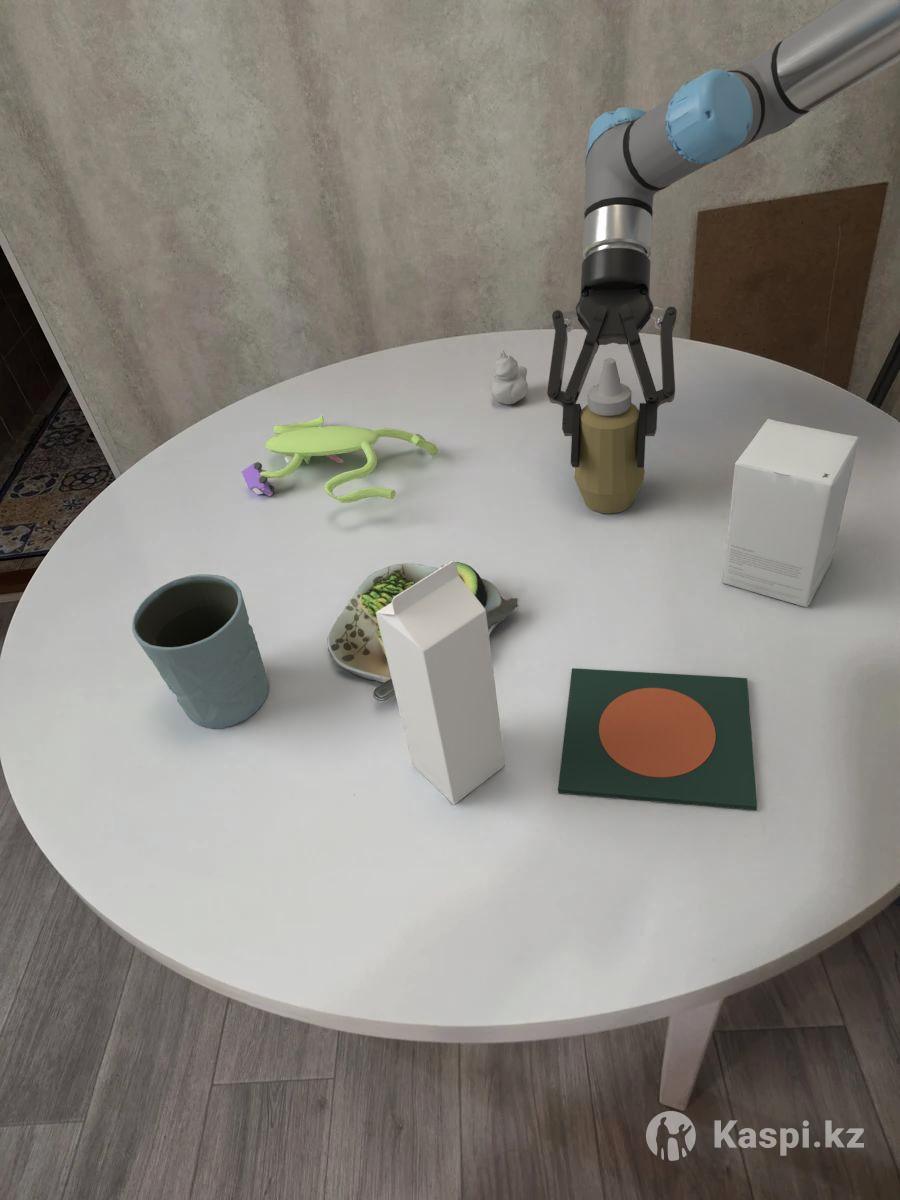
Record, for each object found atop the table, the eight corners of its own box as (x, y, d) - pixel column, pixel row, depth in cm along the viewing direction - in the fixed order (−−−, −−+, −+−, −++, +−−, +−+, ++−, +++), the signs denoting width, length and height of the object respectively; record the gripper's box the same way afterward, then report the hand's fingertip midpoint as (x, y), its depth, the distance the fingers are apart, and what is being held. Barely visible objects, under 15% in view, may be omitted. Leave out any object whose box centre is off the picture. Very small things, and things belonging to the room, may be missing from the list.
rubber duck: (482, 404, 123) (476, 352, 118) (511, 384, 126) (507, 332, 121) (511, 414, 120) (507, 361, 115) (540, 393, 123) (538, 341, 118)
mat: (746, 682, 80) (747, 676, 79) (756, 810, 70) (757, 805, 69) (572, 672, 83) (572, 667, 83) (558, 793, 73) (557, 788, 73)
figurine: (379, 539, 102) (370, 501, 99) (215, 490, 115) (203, 454, 111) (458, 458, 113) (454, 421, 110) (302, 421, 126) (292, 386, 122)
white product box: (835, 558, 91) (864, 435, 81) (807, 610, 86) (834, 485, 76) (750, 535, 95) (767, 415, 85) (718, 583, 90) (733, 462, 80)
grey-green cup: (289, 705, 84) (257, 616, 76) (191, 753, 81) (146, 666, 73) (254, 645, 91) (221, 558, 83) (162, 687, 88) (119, 601, 80)
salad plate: (458, 732, 79) (452, 699, 76) (294, 687, 86) (283, 655, 83) (530, 596, 92) (527, 563, 89) (382, 566, 99) (375, 534, 96)
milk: (412, 765, 77) (364, 580, 63) (463, 728, 80) (429, 541, 65) (455, 807, 74) (415, 619, 59) (507, 766, 76) (482, 576, 61)
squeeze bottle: (651, 486, 104) (658, 346, 92) (632, 525, 99) (636, 383, 87) (587, 476, 107) (584, 340, 95) (565, 514, 102) (560, 375, 90)
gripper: (704, 269, 98) (696, 472, 97) (533, 276, 102) (524, 470, 101) (709, 239, 90) (701, 458, 90) (525, 248, 95) (515, 457, 94)
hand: (607, 464), depth 95 cm, fingers closed on squeeze bottle, 6 cm apart
